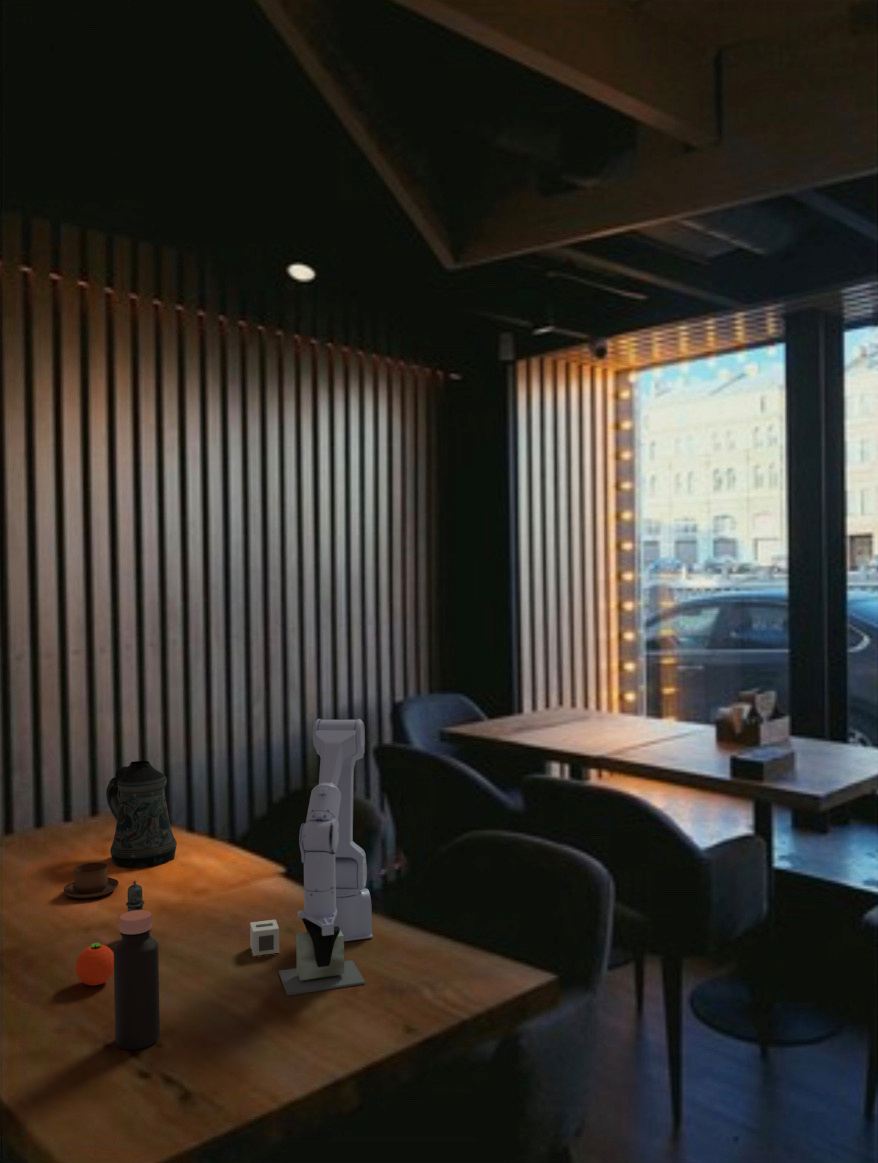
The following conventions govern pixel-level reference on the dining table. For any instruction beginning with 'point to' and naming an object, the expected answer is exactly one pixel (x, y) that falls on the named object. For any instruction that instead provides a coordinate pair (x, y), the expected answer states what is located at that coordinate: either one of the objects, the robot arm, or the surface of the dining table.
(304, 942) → the pale green block
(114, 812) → the beer stein
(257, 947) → the marked cube
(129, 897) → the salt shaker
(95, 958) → the clementine
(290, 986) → the slate mat
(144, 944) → the bottle
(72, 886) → the cup and saucer
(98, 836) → the dining table surface
